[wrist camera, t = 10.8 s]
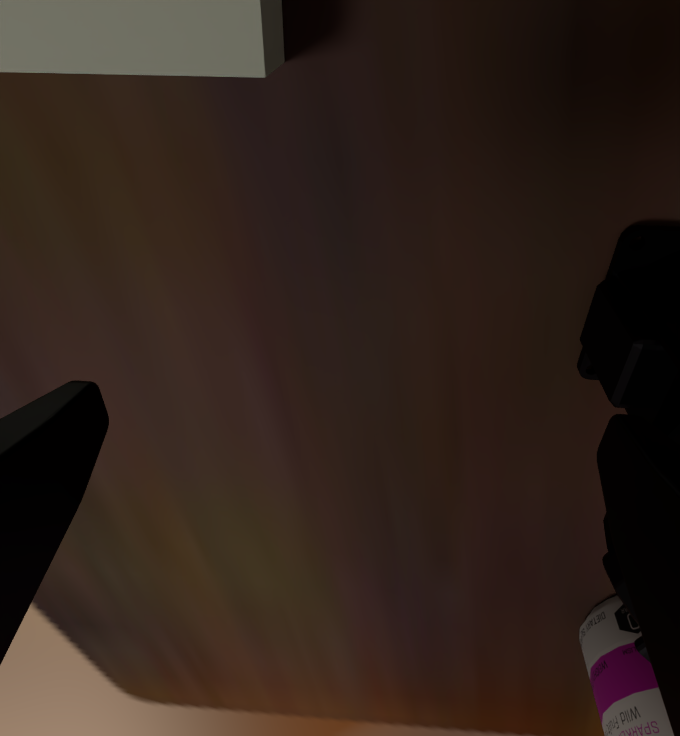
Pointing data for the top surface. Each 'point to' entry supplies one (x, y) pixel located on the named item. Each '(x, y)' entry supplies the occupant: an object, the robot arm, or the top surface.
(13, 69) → the dock
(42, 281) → the top surface
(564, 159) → the top surface
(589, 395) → the top surface
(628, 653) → the supplement can
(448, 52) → the top surface
